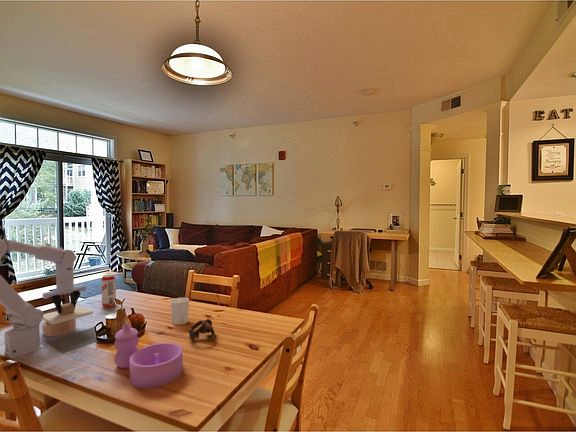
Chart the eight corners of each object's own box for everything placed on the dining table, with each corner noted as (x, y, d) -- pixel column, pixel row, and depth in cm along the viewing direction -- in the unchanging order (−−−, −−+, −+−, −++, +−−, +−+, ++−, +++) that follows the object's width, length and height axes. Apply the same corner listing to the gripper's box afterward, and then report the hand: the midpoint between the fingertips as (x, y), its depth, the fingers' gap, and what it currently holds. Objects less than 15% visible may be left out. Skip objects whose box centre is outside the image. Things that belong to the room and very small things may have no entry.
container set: (192, 367, 100) (192, 327, 99) (155, 393, 86) (154, 348, 85) (139, 351, 110) (138, 316, 110) (97, 373, 96) (96, 332, 96)
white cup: (185, 325, 133) (185, 303, 133) (168, 325, 134) (167, 303, 133) (191, 318, 141) (191, 297, 141) (175, 318, 141) (174, 297, 141)
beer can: (105, 309, 154) (104, 277, 154) (100, 306, 158) (99, 276, 157) (118, 305, 159) (117, 275, 159) (112, 303, 163) (112, 273, 162)
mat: (62, 354, 108) (62, 353, 108) (46, 342, 117) (46, 341, 117) (115, 336, 123) (115, 335, 123) (97, 327, 132) (97, 326, 132)
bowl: (48, 339, 120) (48, 328, 120) (39, 332, 126) (38, 322, 126) (80, 330, 129) (79, 319, 129) (69, 324, 135) (69, 314, 135)
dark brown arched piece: (214, 345, 116) (202, 329, 114) (193, 354, 117) (181, 338, 115) (222, 325, 127) (211, 310, 125) (203, 333, 129) (192, 318, 127)
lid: (51, 324, 115) (51, 313, 115) (39, 317, 123) (39, 306, 123) (93, 313, 126) (92, 303, 126) (79, 307, 134) (78, 297, 134)
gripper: (46, 284, 116) (47, 319, 116) (88, 276, 127) (90, 308, 128) (40, 281, 120) (41, 315, 121) (82, 274, 132) (83, 305, 132)
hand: (66, 311), depth 125 cm, fingers closed on lid, 4 cm apart
